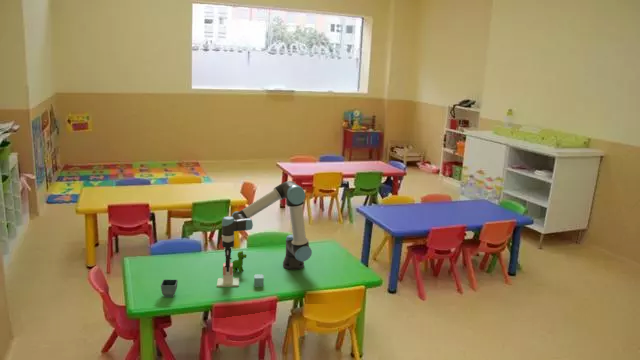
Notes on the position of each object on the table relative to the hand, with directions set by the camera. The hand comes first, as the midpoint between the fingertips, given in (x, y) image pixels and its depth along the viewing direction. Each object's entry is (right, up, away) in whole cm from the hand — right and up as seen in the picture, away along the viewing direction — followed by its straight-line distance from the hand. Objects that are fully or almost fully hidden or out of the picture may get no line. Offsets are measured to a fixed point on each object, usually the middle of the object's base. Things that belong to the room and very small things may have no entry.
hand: (228, 272), depth 351 cm
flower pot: (-33, -11, -19) cm, 40 cm away
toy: (+2, -3, +21) cm, 21 cm away
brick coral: (0, -1, 0) cm, 1 cm away
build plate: (0, -7, +2) cm, 7 cm away
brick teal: (+20, -8, +2) cm, 22 cm away
